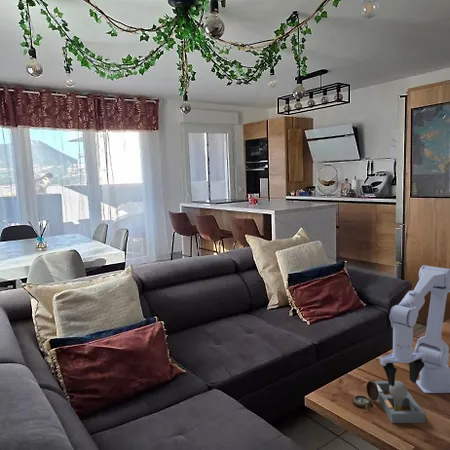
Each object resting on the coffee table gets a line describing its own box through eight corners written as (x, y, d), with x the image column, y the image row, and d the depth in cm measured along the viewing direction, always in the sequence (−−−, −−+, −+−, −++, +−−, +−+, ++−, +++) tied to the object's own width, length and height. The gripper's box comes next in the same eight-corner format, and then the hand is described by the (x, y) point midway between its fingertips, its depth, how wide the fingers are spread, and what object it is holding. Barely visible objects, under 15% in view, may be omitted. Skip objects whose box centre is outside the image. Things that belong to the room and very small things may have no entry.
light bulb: (410, 415, 123) (410, 386, 122) (393, 416, 123) (394, 387, 122) (402, 405, 129) (402, 377, 127) (386, 406, 129) (386, 378, 127)
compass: (348, 399, 134) (348, 380, 133) (369, 396, 135) (369, 376, 134) (360, 413, 126) (360, 392, 125) (382, 409, 127) (383, 389, 126)
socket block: (399, 388, 138) (400, 380, 138) (424, 422, 120) (424, 412, 119) (371, 389, 139) (371, 380, 139) (391, 422, 120) (392, 413, 120)
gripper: (415, 335, 127) (414, 373, 129) (374, 340, 124) (374, 379, 126) (429, 344, 120) (428, 384, 122) (387, 349, 118) (387, 391, 119)
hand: (402, 383), depth 123 cm, fingers open, 7 cm apart
